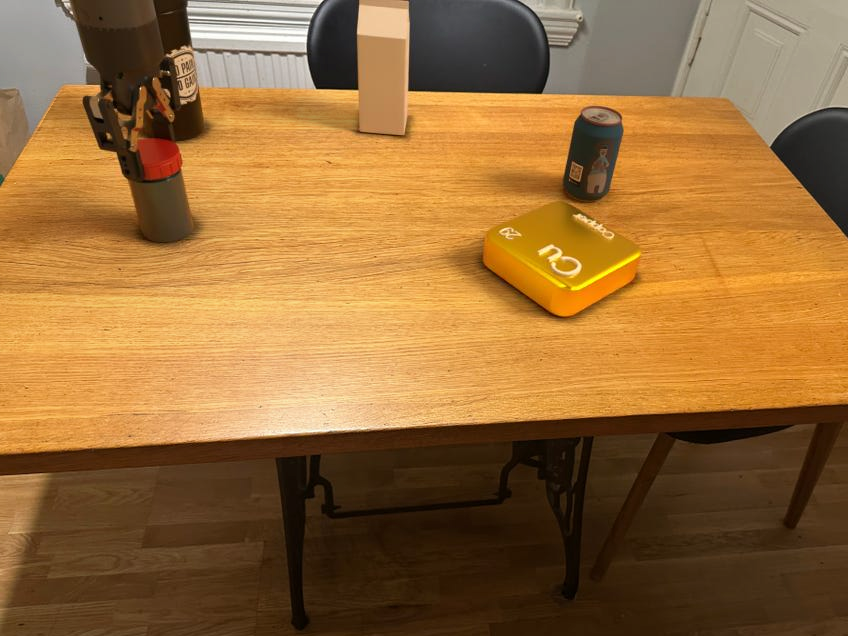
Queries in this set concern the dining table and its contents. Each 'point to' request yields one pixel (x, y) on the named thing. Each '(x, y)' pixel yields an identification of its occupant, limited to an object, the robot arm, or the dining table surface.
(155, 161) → the jar lid
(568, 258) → the element tile
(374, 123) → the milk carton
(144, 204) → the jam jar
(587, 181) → the soda can
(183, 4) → the water bottle
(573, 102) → the dining table surface
